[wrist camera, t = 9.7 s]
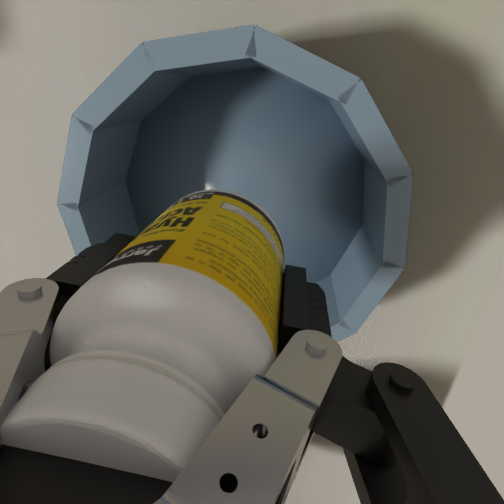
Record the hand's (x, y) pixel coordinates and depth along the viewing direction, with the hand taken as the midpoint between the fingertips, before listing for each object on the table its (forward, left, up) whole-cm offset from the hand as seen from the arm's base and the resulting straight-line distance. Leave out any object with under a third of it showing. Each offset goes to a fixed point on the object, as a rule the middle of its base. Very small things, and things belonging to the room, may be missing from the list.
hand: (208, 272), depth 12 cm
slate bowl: (0, 0, -10) cm, 10 cm away
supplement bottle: (0, 0, -2) cm, 2 cm away
